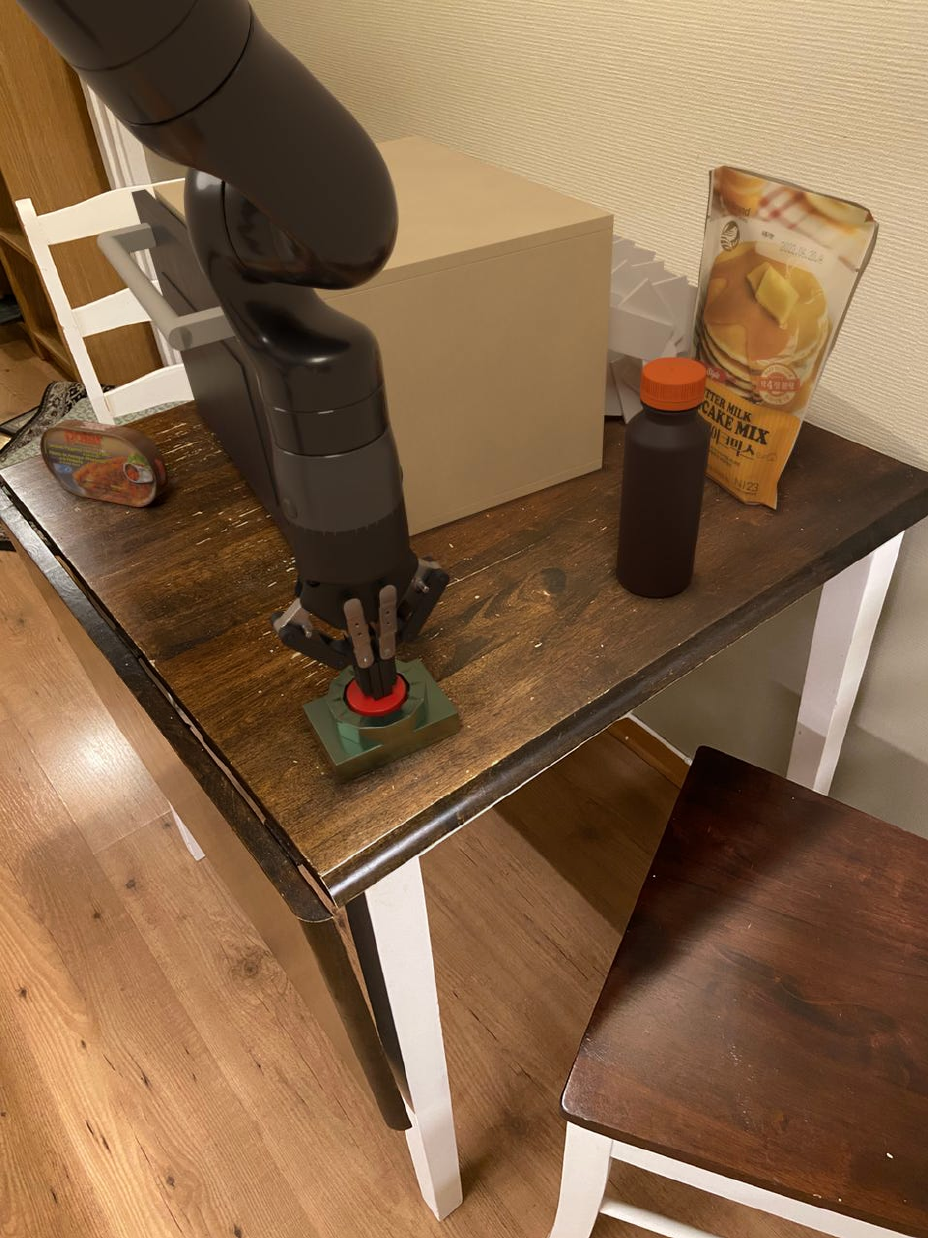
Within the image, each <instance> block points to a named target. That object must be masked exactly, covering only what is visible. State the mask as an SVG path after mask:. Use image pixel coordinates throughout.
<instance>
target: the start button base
mask: <svg viewBox="0 0 928 1238" xmlns="http://www.w3.org/2000/svg"><path fill="white" fill-rule="evenodd" d="M395 663H396V670H397V675H399V676H400V677H401V678H402V679H403V681H404V683H405V686H406V693H407V700H406V701H405V702H404V703H403V705H402V706H401V707H400V708H399V709H397V710H395V711H392V712H390V713H388V714H385V715H383V716H362V715H360V714H358V713H355V712H353V711H351V710H350V709H349V704H348V699H347V690H348V687H349V685H350V684H351V682H352V681H353V680H354V679H355V678H354V673H353V668H352V665H348V667H347V668H346V669H344V670H342V671H340V673H339V674H338V675H337V676H336V677H335V678H334V679H333V680H332V682H330V683H329V687H328V692H327V694H326V695H323V696H321V697H318V698H316V699H314V700H311V701H309V702H306V703H304V704H302V705H301V707H302V711H303V715H304V719H305V723H306V726H307V727H308V729H309V731H310V733H311V735H312V737H313V738H314V740H315V742H316V744H317V745H318V747H319V749H320V751H321V753H322V754H323V757H324V758H325V760H326V762H327V764H328V765H329V767H330V769H331V770H332V772H333V774H334V776H335V778H336V780H337V782H338V783H339V785H343V784H345V783H347V782H350V781H352V780H354V779H356V778H358V777H361V776H363V775H365V774H367V773H369V772H370V773H371V772H372V771H374V770H376V769H378V768H381V767H383V766H385V765H388V764H390V763H392V762H395V761H396V760H399V759H401V758H404V757H405V756H408V755H410V754H412V753H415V752H417V751H419V750H422V749H424V748H425V747H428V746H430V745H433V744H435V743H437V742H439V741H442V740H444V739H446V738H448V737H451V736H453V735H455V734H457V733H460V732H461V723H460V713H459V710H458V708H456V706H455V705H454V703H453V702H452V701H451V699H450V698H449V696H448V695H446V693H445V692H444V690H443V689H442V688H441V686H440V685H439V684H438V682H437V681H436V680H435V678H434V677H433V675H432V674H431V673H430V672H429V670H428V668H426V666H425V665H424V664H423V663H422V661H421V660H420V658H419V657H418V658H417V657H416V658H415V659H412V660H410V661H409V660H408V661H407V662H404V661H403V660H399V659H397V658H395Z"/></svg>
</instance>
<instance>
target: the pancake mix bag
mask: <svg viewBox="0 0 928 1238" xmlns="http://www.w3.org/2000/svg"><path fill="white" fill-rule="evenodd" d="M707 197H708V198H707V205H706V214H705V219H704V220H705V221H704V229H703V230H704V231H703V242H702V249H701V256H700V262H699V267H698V268H699V269H698V278H697V281H698V282H697V287H698V288H697V294H696V299H695V306H694V314H693V333H692V345H691V360H694V361H696V362H698V363H700V364H702V365H703V366H704V368H705V369H706V370H707V377H706V384H705V393H704V399H703V401H702V402H703V403H702V405H701V407H700V409H698V412H699V414H700V415H701V416H702V417H703V418H704V419H705V420H706V421H707V423H708V424H709V425H710V429H711V441H710V449H709V456H708V463H707V471H706V476H707V478H709V479H710V480H712V481H713V482H714V483H716V484H718V485H719V486H720V487H721V488H723V489H724V490H725V491H726V492H728V494H730V495H731V496H733V497H734V498H736V499H737V500H738V501H740V502H742V503H744V504H745V505H764V506H766V507H769V508H771V509H774V510H777V505H778V504H777V503H778V498H779V493H778V483H779V480H780V478H781V476H782V473H783V471H784V468H785V466H786V464H787V462H788V460H789V457H790V456H791V454H792V451H793V449H794V447H795V444H796V441H797V439H798V436H799V434H800V430H801V428H802V424H803V421H804V419H805V416H806V414H807V412H808V409H809V407H810V404H811V403H812V400H813V397H814V395H815V392H816V390H817V387H818V385H819V383H820V381H821V379H822V376H823V374H824V370H825V367H826V365H827V361H828V360H829V358H830V356H831V354H832V352H833V350H834V348H835V347H836V343H837V341H838V338H839V335H840V332H841V329H842V327H843V324H844V321H845V318H846V316H847V313H848V311H849V309H850V305H851V303H852V302H853V301H852V300H853V297H854V295H855V293H856V291H857V288H858V287H859V285H860V282H861V279H862V277H863V275H864V274H865V271H866V269H867V267H868V265H869V264H870V261H871V259H872V255H873V253H874V250H875V247H876V244H877V240H878V234H879V230H880V223H879V222H878V221H877V220H875V219H874V217H873V215H872V213H871V211H870V210H871V209H869V208H867V207H866V206H864V205H862V204H860V203H858V202H855V201H853V200H848V199H844V198H840V197H838V196H834V195H830V194H827V193H822V192H819V191H815V190H813V189H809V188H807V187H804V186H801V185H799V184H796V183H794V182H791V181H788V180H785V179H781V178H778V177H774V176H770V175H767V174H762V173H758V172H755V171H752V170H748V169H743V168H740V167H739V168H738V167H733V166H728V165H721V166H719V167H716V168H714V169H711V170H708V195H707Z"/></svg>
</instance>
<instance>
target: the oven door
mask: <svg viewBox="0 0 928 1238" xmlns="http://www.w3.org/2000/svg"><path fill="white" fill-rule="evenodd" d="M130 193H131V196H132V197H131V198H132V201H133V203H134V207H135V209H136V213H137V216H138V220H139V222H140V223H137V224H135V225H129V226H125V227H120V228H116V229H112V230H107V231H103V232H101V233H100V234H98V235H97V238H96V244H97V246H98V248H99V249H100V251H101V252H102V253H103V255H104V256H105V258H106V259H107V260H108V262H109V263H110V265H111V266H112V267H113V268H114V270H115V271H116V273H117V274H118V276H119V277H120V278H121V279H122V281H123V283H124V284H125V285H126V287H127V288H128V289H129V290H130V292H131V293H132V295H133V296H134V297H135V299H136V300H137V302H138V303H139V305H140V306H141V307H142V309H143V310H144V311H145V313H146V314H147V316H148V317H149V318H150V319H151V321H152V322H153V324H154V325H155V327H156V328H157V329H158V330H159V332H160V333H161V335H162V337H163V338H164V339H165V341H166V342H167V343H168V345H169V346H170V347H171V348H172V349H174V350H175V351H177V352H179V354H180V357H181V361H182V363H183V366H184V370H185V374H186V377H187V380H188V384H189V387H190V389H191V394H192V397H193V399H194V403H195V407H196V409H197V411H198V412H199V414H200V415H201V417H202V418H203V419H204V421H205V423H206V424H207V426H208V427H209V428H210V430H211V431H212V433H213V434H214V435H215V437H216V439H217V440H218V441H219V443H220V445H221V446H222V447H223V449H224V450H225V452H226V453H227V454H228V456H229V457H230V459H231V460H232V462H233V463H234V465H235V466H236V468H237V469H238V470H239V472H240V473H241V475H242V476H243V478H244V479H245V481H246V482H247V483H248V485H249V487H250V488H251V489H252V491H253V492H254V494H255V496H256V497H257V498H258V500H259V501H260V502H261V504H262V506H263V507H264V508H265V510H266V511H267V513H268V515H269V516H270V518H272V520H273V522H274V523H275V524H276V526H277V528H278V529H279V530H280V532H281V533H282V535H283V536H284V538H285V539H286V540H287V541H288V543H289V545H290V546H291V542H290V538H289V533H288V529H287V525H286V521H285V517H284V512H283V508H282V504H281V500H280V495H279V491H278V487H277V483H276V478H275V473H274V465H273V453H272V444H271V437H270V433H269V429H268V425H267V420H266V416H265V412H264V407H263V403H262V399H261V394H260V390H259V385H258V380H257V376H256V373H255V370H254V368H253V366H252V365H251V363H250V361H249V359H248V357H247V356H246V354H245V352H244V351H243V349H242V347H241V346H240V344H239V342H238V340H237V338H236V336H235V334H234V332H233V330H232V328H231V326H230V324H229V322H228V321H227V319H226V317H225V315H224V313H223V311H222V309H221V307H220V305H219V303H218V301H217V299H216V297H215V295H214V293H213V291H212V289H211V287H210V286H209V284H208V282H207V280H206V278H205V276H204V274H203V272H202V269H201V267H200V265H199V263H198V260H197V258H196V256H195V253H194V250H193V247H192V244H191V241H190V238H189V234H188V230H187V229H186V228H185V227H184V226H183V225H182V224H181V223H180V222H179V221H178V220H177V219H176V218H175V217H174V216H173V215H172V214H171V213H170V212H169V211H168V210H167V209H166V208H165V207H164V206H162V205H161V204H160V203H159V202H158V201H157V200H156V198H155V196H153V195H152V194H151V193H150V192H149V191H148V190H147V189H146V188H144V189H140V190H134V191H131V192H130ZM144 250H148V253H149V256H150V259H151V262H152V266H153V269H154V272H155V276H156V278H157V282H158V286H159V288H160V291H159V290H158V288H157V287H156V285H154V283H153V282H152V281H151V280H150V278H149V277H148V276H147V275H146V274H145V272H144V270H143V269H142V268H141V267H140V266H139V264H138V263H137V262H136V261H135V260H134V258H133V256H131V254H132V253H136V252H140V251H144Z"/></svg>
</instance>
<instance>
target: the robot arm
mask: <svg viewBox="0 0 928 1238" xmlns="http://www.w3.org/2000/svg"><path fill="white" fill-rule="evenodd" d="M14 2H15V3H16V4H17V5H18V6H19V7H20V9H21V10H22V11H23V12H24V14H25V15H27V17H28V18H29V19H30V21H32V23H33V24H34V25H35V26H36V28H37V29H38V30H39V31H40V32H41V33H42V35H43V36H45V38H46V39H47V40H48V41H49V43H50V44H51V45H52V46H53V48H54V49H55V50H56V51H57V52H58V53H59V54H60V56H61V57H62V58H63V59H64V60H65V61H66V62H67V63H68V64H69V66H70V67H71V68H72V69H73V70H74V71H75V73H76V74H77V75H78V76H79V77H80V78H81V79H82V81H84V82H85V84H86V85H87V86H88V88H89V89H90V90H91V91H92V92H93V93H94V94H95V95H96V96H97V98H98V99H99V100H100V101H101V103H103V105H104V106H106V108H107V109H108V110H109V111H110V112H111V113H112V114H113V116H114V117H115V118H116V119H117V120H118V121H119V123H120V124H121V125H122V126H123V127H124V128H125V130H127V131H128V132H129V134H131V135H132V136H133V138H135V139H136V140H137V141H138V142H139V143H140V144H141V145H142V146H144V147H145V148H146V149H147V150H148V151H150V152H151V153H152V154H155V155H156V156H158V158H161V159H163V160H165V161H167V162H170V163H172V164H175V165H178V166H181V167H184V168H186V171H185V176H184V180H185V183H184V213H185V220H186V225H187V230H188V234H189V238H190V241H191V244H192V247H193V250H194V253H195V256H196V258H197V260H198V263H199V265H200V267H201V269H202V272H203V274H204V276H205V278H206V280H207V282H208V284H209V286H210V287H211V289H212V291H213V293H214V295H215V297H216V299H217V301H218V303H219V305H220V307H221V309H222V311H223V313H224V315H225V317H226V319H227V321H228V322H229V324H230V326H231V328H232V330H233V332H234V334H235V336H236V338H237V340H238V342H239V344H240V346H241V347H242V349H243V351H244V352H245V354H246V356H247V357H248V359H249V361H250V363H251V365H252V366H253V368H254V370H255V373H256V376H257V380H258V385H259V390H260V394H261V399H262V403H263V407H264V412H265V416H266V420H267V425H268V429H269V433H270V437H271V444H272V453H273V465H274V473H275V478H276V483H277V487H278V491H279V495H280V500H281V504H282V508H283V512H284V517H285V521H286V525H287V529H288V533H289V538H290V542H291V545H290V546H291V550H292V555H293V559H294V564H295V567H296V571H297V575H296V576H297V578H296V581H295V584H294V587H293V589H294V590H293V593H294V596H295V598H296V599H295V600H294V601H293V602H292V603H291V604H290V606H289V607H288V608H287V609H286V611H284V610H278V611H275V612H274V613H272V614H271V615H270V618H269V623H270V624H271V626H272V628H273V630H274V632H275V634H276V635H277V637H278V639H279V640H280V642H281V643H282V645H283V646H285V647H287V648H289V649H291V650H293V651H295V652H297V653H299V654H301V655H303V656H306V657H308V658H309V659H312V660H314V661H315V662H318V663H320V664H322V665H323V666H326V667H328V668H330V669H332V670H334V671H336V672H342V671H343V670H344V669H346V668H347V667H349V666H352V668H353V673H354V678H355V682H356V683H357V685H358V686H359V688H360V689H361V691H362V693H363V694H364V695H365V696H366V697H367V696H369V695H371V697H372V698H373V700H374V701H375V700H377V699H380V698H382V697H384V696H387V695H389V694H392V693H393V691H392V686H393V685H396V683H397V680H398V676H397V670H396V663H395V659H396V658H395V654H396V650H397V649H398V647H399V646H400V645H402V644H403V643H404V644H411V643H413V642H414V641H416V639H417V638H418V636H419V634H420V633H421V631H422V630H423V628H424V626H425V624H426V622H427V620H428V619H429V617H430V615H431V614H432V613H433V610H434V609H435V608H436V605H437V604H438V602H439V600H440V599H441V597H442V595H443V594H444V592H445V590H446V588H447V587H448V585H449V584H450V581H451V577H450V574H448V572H447V571H446V570H445V569H444V568H443V567H442V566H441V565H440V563H438V561H437V560H436V558H434V557H433V556H431V555H427V556H424V557H423V558H422V559H421V558H419V557H418V555H417V553H415V551H413V550H412V548H411V539H410V536H409V530H408V522H407V515H406V507H405V499H404V491H403V483H402V482H403V471H402V467H401V465H400V460H399V454H398V449H397V445H396V441H395V438H394V435H393V431H392V427H391V423H390V418H389V409H388V402H387V394H386V386H385V379H384V370H383V363H382V357H381V352H380V347H379V344H378V341H377V339H376V337H375V335H374V333H373V332H372V330H371V329H370V328H369V327H368V326H367V325H365V324H364V323H362V322H361V321H359V320H357V319H355V318H353V317H351V316H349V315H347V314H345V313H343V312H341V311H339V310H336V309H335V308H333V307H331V306H330V305H328V304H327V303H326V302H325V301H323V300H322V299H321V298H320V297H319V295H318V294H317V292H316V291H315V289H314V288H317V289H325V290H347V289H352V288H356V287H359V286H361V285H364V284H366V283H367V282H369V281H370V280H372V279H373V278H374V277H375V276H377V275H378V274H379V273H380V272H381V271H382V269H383V268H384V267H385V265H386V264H387V262H388V260H389V258H390V257H391V254H392V252H393V250H394V247H395V243H396V239H397V233H398V224H399V212H398V203H397V197H396V192H395V188H394V184H393V181H392V178H391V175H390V172H389V170H388V167H387V165H386V163H385V161H384V159H383V157H382V155H381V153H380V151H379V149H378V148H377V146H376V145H375V144H376V143H375V142H374V141H373V139H372V137H371V136H370V134H369V133H368V132H367V131H366V129H365V128H364V127H363V125H362V124H361V123H360V122H359V121H358V119H357V118H356V117H355V116H354V115H353V114H352V113H351V112H350V111H349V109H347V108H346V106H344V104H342V102H340V100H339V99H338V98H337V97H336V96H335V95H334V94H333V93H332V92H331V91H330V90H329V89H328V88H327V87H326V86H324V84H323V83H322V82H321V81H320V80H319V79H318V78H317V77H316V76H315V75H314V73H312V72H311V70H310V69H309V68H307V66H306V65H305V64H304V63H303V62H302V61H301V60H300V59H298V57H297V56H295V55H294V54H293V52H291V51H290V50H288V49H287V48H286V47H285V46H284V45H283V44H282V43H281V42H280V41H279V40H278V39H276V38H275V37H274V36H273V35H272V34H271V33H270V32H269V31H268V29H266V27H264V25H263V24H262V22H261V20H260V19H259V17H258V15H257V13H256V12H255V10H254V7H252V4H251V3H250V1H249V0H14ZM310 615H313V616H314V617H316V618H318V619H319V620H321V621H322V622H325V623H326V624H327V625H329V626H331V627H333V628H334V629H337V630H339V631H340V633H341V636H342V639H336V638H335V637H333V636H332V635H330V634H327V633H326V632H324V631H322V630H320V629H318V628H317V627H315V626H314V625H315V624H314V623H313V622H312V619H310Z"/></svg>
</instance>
